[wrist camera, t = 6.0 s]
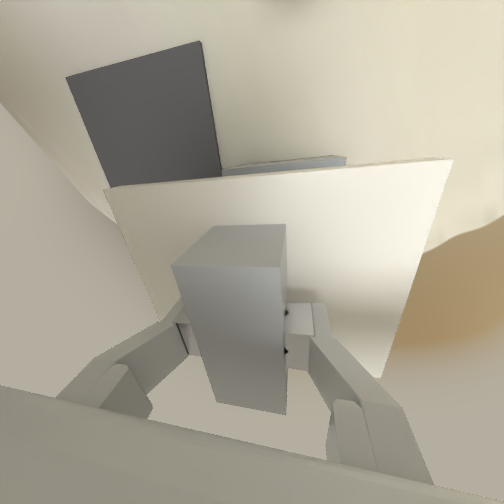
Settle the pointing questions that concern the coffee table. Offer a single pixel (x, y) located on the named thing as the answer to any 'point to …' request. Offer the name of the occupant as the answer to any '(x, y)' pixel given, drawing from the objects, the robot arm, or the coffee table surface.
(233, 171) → the grey storage box
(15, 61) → the coffee table surface
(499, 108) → the coffee table surface
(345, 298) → the cream lid
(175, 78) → the black rubber mat
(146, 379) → the robot arm
